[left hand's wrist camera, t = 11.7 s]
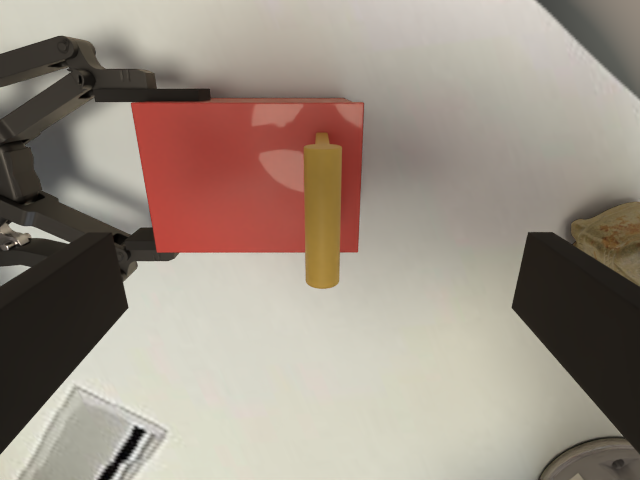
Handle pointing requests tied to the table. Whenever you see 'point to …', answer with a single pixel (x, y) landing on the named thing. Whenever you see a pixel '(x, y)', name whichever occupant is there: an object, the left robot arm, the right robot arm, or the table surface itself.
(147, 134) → the lid
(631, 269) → the sculpture
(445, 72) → the table surface
